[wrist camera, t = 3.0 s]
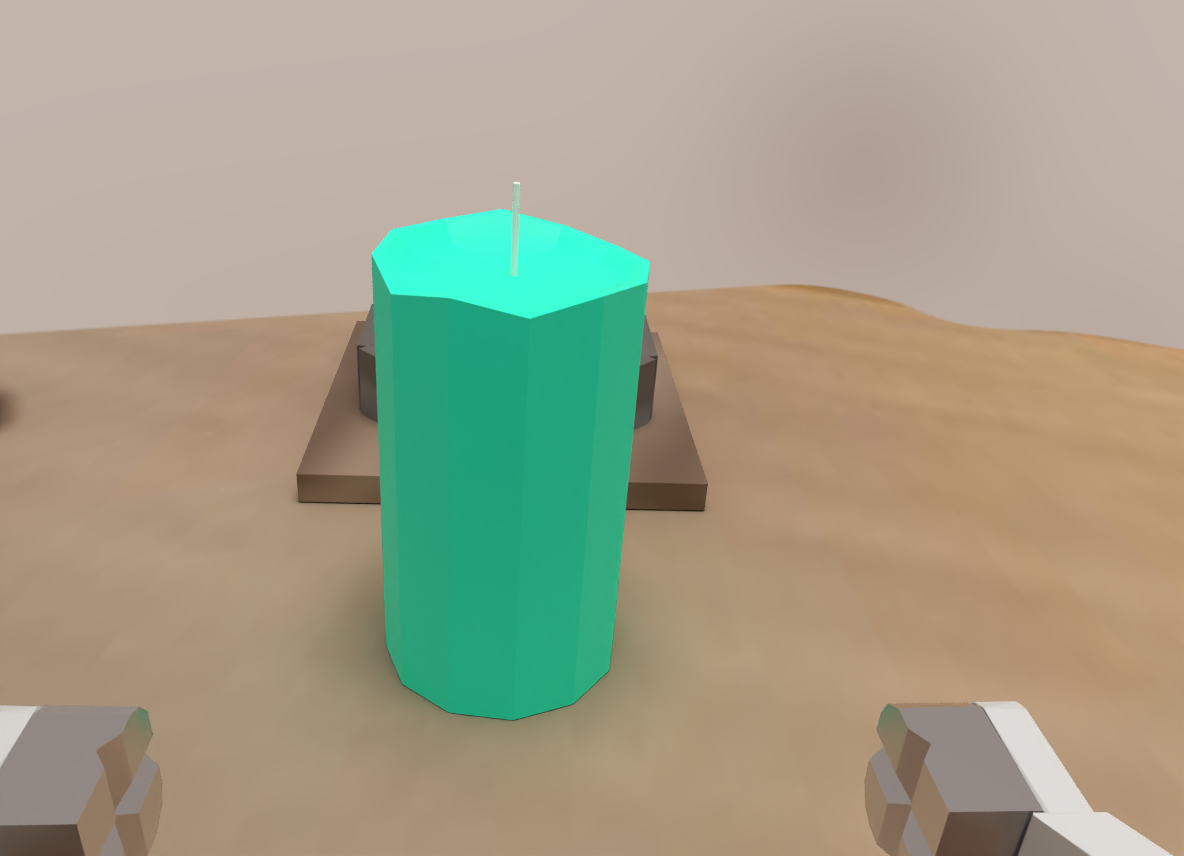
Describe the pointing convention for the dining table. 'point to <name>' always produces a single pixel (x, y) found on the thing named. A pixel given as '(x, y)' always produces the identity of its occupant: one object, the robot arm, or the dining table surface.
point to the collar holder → (351, 448)
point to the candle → (504, 454)
